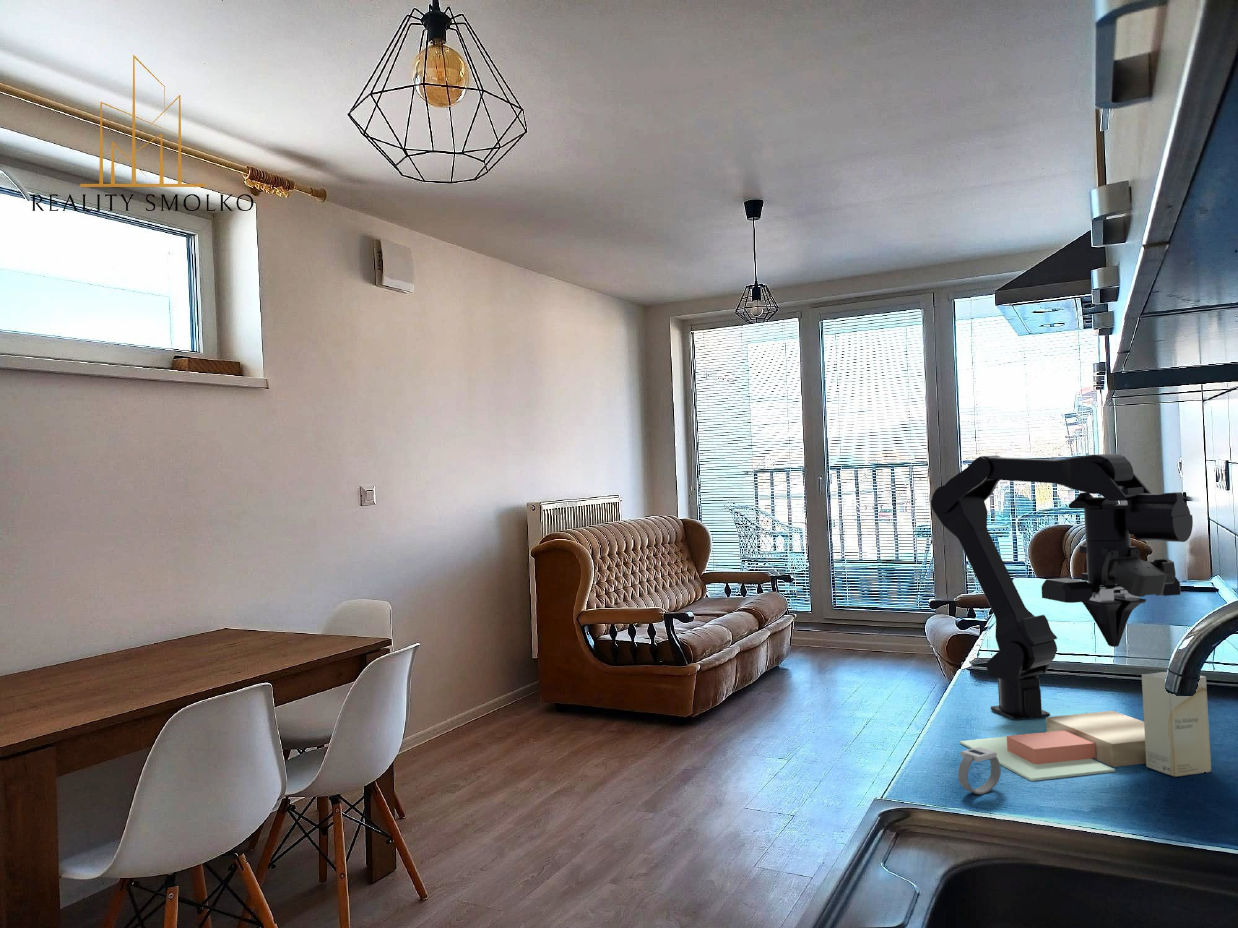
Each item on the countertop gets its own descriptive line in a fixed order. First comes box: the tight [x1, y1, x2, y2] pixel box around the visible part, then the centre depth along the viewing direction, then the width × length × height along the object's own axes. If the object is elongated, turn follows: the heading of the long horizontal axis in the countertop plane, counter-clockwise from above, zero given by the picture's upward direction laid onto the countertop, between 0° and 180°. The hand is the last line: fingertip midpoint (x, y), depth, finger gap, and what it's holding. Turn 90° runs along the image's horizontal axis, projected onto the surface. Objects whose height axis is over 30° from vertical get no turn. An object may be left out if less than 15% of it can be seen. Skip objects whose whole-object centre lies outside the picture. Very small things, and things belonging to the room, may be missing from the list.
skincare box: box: [1141, 671, 1212, 777], centre depth 110 cm, size 6×4×12 cm
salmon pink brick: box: [1006, 730, 1096, 764], centre depth 116 cm, size 9×6×2 cm, turn 99°
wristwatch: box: [957, 747, 1002, 795], centre depth 105 cm, size 6×3×5 cm, turn 117°
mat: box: [959, 735, 1116, 782], centre depth 116 cm, size 16×12×1 cm
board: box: [1045, 710, 1146, 768], centre depth 119 cm, size 13×11×3 cm
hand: (1113, 646), depth 124 cm, fingers closed
